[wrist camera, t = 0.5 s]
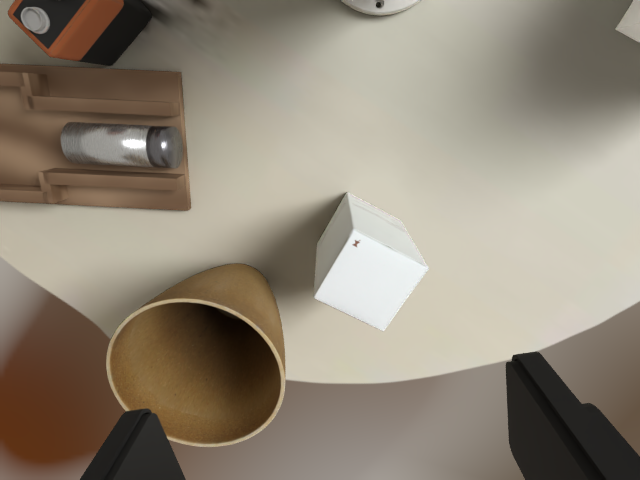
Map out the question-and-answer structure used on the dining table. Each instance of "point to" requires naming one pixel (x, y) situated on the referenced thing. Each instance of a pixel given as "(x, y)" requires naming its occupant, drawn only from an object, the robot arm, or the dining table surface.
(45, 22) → the battery
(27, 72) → the tray
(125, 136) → the shaft
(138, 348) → the plant pot
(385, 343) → the dining table surface
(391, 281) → the supplement box
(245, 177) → the dining table surface
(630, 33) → the milk
